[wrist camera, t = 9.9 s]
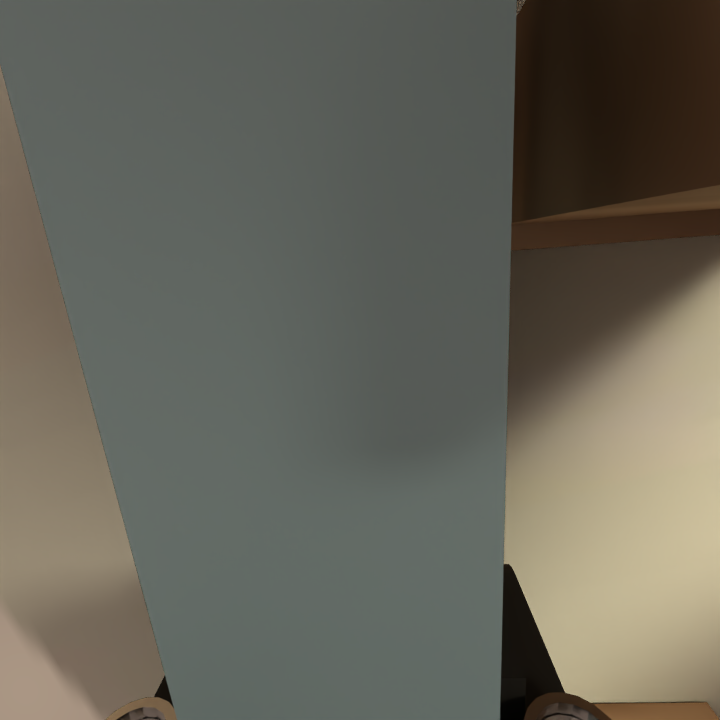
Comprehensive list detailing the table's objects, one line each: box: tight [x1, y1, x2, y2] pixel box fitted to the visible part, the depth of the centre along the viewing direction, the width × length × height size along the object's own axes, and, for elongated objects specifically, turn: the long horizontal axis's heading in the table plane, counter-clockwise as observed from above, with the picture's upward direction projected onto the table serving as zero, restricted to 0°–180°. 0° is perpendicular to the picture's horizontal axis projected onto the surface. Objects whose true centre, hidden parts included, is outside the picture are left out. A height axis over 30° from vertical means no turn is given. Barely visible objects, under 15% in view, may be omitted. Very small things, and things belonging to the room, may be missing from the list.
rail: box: [0, 0, 517, 720], centre depth 7 cm, size 26×4×4 cm, turn 4°
